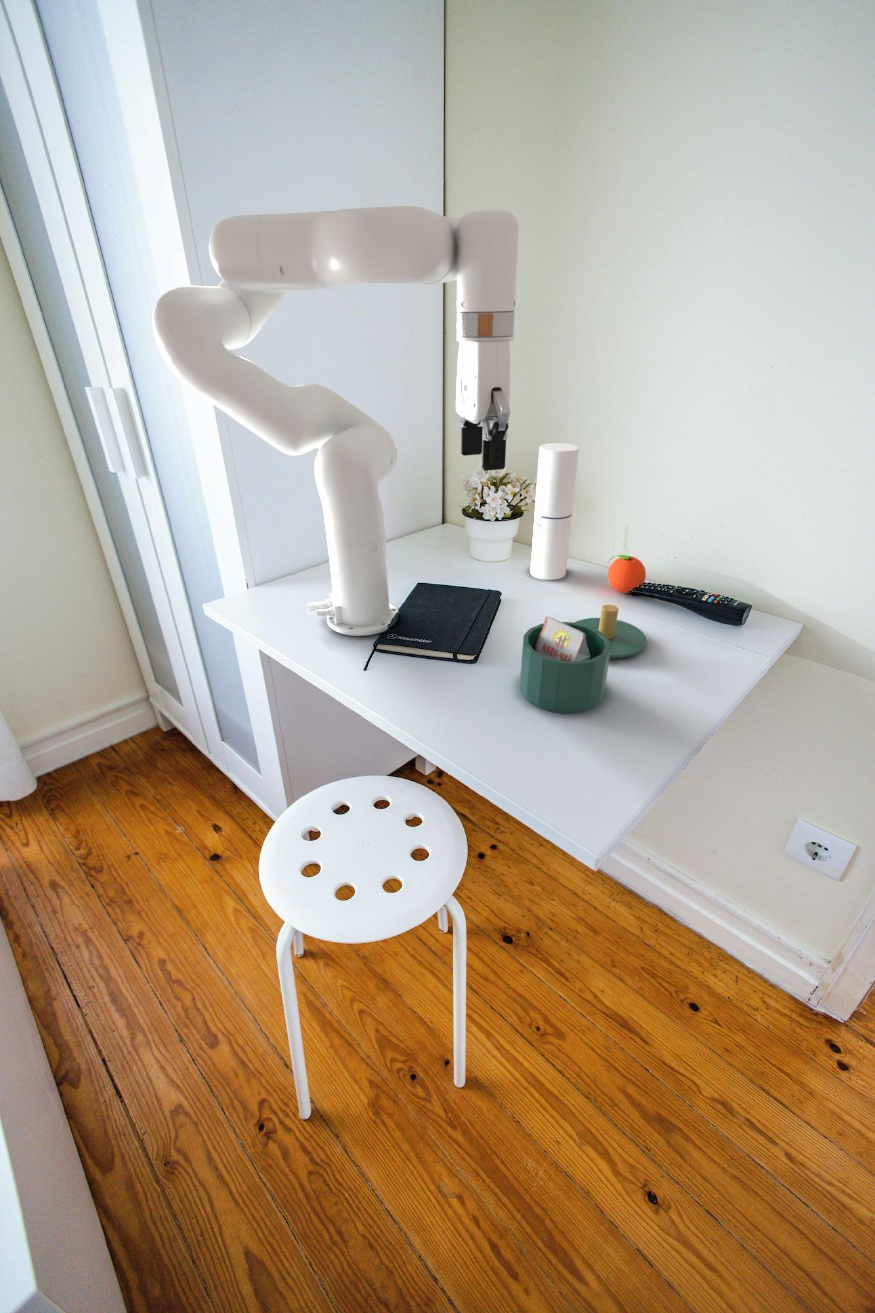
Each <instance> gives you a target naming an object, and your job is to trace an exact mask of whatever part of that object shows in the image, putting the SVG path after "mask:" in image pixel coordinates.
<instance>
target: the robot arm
mask: <svg viewBox="0 0 875 1313" xmlns="http://www.w3.org/2000/svg"><path fill="white" fill-rule="evenodd" d="M519 231H520V228H519V221H518V218H517V216H516V215H515V214H514V213H512V212H510V211H507V210H497V209H488V210H487V209H485V210H484V209H483V210H474V211H470V212H467V213H465V214H463V215H462V216H461V217H450V216H444V215H441V214H440V213H439V214H438V213H436V212H435V211H432V210H430V209H428V208H424V207H420V206H416V205H395V206H394V205H393V206H374V207H357V208H356V207H355V208H345V209H337V210H323V211H322V210H321V211H308V212H307V211H306V212H290V213H289V212H287V213H266V214H264V213H263V214H242V215H241V214H240V215H234V216H230V217H227V218H223V219H222V220H221V221H219V222H218V223H217V224H216V225H215V226H214V227H213V229H212V231H211V233H210V236H209V239H208V253H209V258H210V261H211V263H212V264H211V265H212V266H213V268H214V270H215V271H216V273H217V275H219V276H220V278H221V279H222V280H221V281H220V283H219V284H218V285H217V286H210V285H209V286H206V285H187V286H179V287H175V288H173V289H171V290H168V291H167V292H165V293H164V294H162V295H161V296H160V297H159V299H158V300H157V301H156V302H155V305H154V308H153V311H152V327H153V334H154V338H155V341H156V345H157V347H158V351H160V355H161V356H162V358H163V360H164V361H165V363H166V364H167V366H168V368H169V369H170V370H171V372H172V373H173V374H174V375H175V376H176V378H178V379H179V381H180V382H182V384H184V385H185V386H186V387H187V388H188V389H190V390H191V391H192V392H193V393H195V394H196V395H197V396H199V397H201V398H202V399H204V400H205V401H207V402H208V403H210V404H211V405H213V406H215V407H216V408H218V409H219V410H221V411H223V412H224V413H225V414H227V415H228V416H230V417H231V418H232V419H233V420H235V421H236V422H237V423H238V424H240V425H241V426H243V427H245V428H246V429H247V430H249V431H251V432H252V433H253V434H254V435H256V436H258V437H259V438H261V439H262V440H264V442H266V443H267V444H269V445H270V446H272V447H273V448H275V449H276V450H278V451H280V453H283V454H285V455H287V456H301V455H305V454H306V453H309V452H311V451H313V450H315V449H318V451H317V453H316V455H315V459H314V466H313V474H314V480H315V484H316V488H317V492H318V495H319V498H320V502H321V506H322V511H323V518H324V524H325V526H324V527H325V532H326V533H325V535H326V542H327V550H328V558H329V566H330V567H329V568H330V578H331V586H332V593H330V594H329V595H330V598H327V599H325V601H320V602H318V601H316V602H315V601H314V602H308V603H306V604H307V612H308V615H313V614H315V615H316V619H322V618H326V623H327V625H328V627H329V628H330V629H331V630H333V631H334V632H337V633H339V634H341V635H346V636H352V637H365V636H371V635H372V636H373V635H377V634H380V633H384V632H386V631H388V630H389V629H388V626H387V625H388V624H390V622H391V620H392V618H394V616H395V614H396V613H397V612H398V613H399V610H398V608H397V607H396V606H395V605H394V604H392V603H390V593H389V592H390V591H389V576H388V559H387V543H386V529H385V516H384V511H383V505H382V501H381V498H380V493H379V484H380V483H381V482H382V481H383V480H384V479H386V478H387V477H388V476H389V475H390V474H391V472H393V470H394V469H395V467H396V464H397V459H398V449H397V444H396V442H395V440H394V438H393V436H392V435H391V434H390V432H389V431H388V430H387V429H386V428H385V427H384V426H382V424H380V423H379V422H378V421H377V420H375V419H373V418H372V417H371V416H369V414H367V413H365V412H364V411H363V410H361V409H359V408H358V407H356V406H355V405H354V404H352V403H351V402H349V401H348V400H346V399H345V398H344V397H342V396H341V395H339V394H338V393H336V392H335V391H333V390H331V389H330V388H329V387H327V386H326V387H325V386H323V385H320V384H317V383H303V384H299V385H294V386H292V385H288V384H286V383H284V382H283V381H280V380H279V379H277V378H276V377H274V376H272V375H270V373H268V372H266V371H265V370H264V369H262V368H261V367H260V366H259V365H257V364H256V363H254V362H252V361H251V360H249V359H247V358H244V357H242V356H240V355H238V354H236V353H235V352H232V351H231V350H237V349H240V348H243V347H245V346H246V345H248V344H249V343H250V342H251V341H253V340H254V339H255V338H256V336H257V335H258V333H259V332H260V331H261V330H262V328H263V327H264V325H266V323H267V321H268V320H269V319H270V317H271V316H272V315H273V313H274V312H275V310H276V309H278V306H279V305H280V304H281V302H282V301H283V299H284V298H285V297H286V295H287V294H288V292H289V291H326V290H327V291H328V290H335V289H337V288H338V287H341V286H345V285H358V284H422V285H423V284H424V285H440V284H445V283H450V282H456V341H457V342H459V345H458V347H459V348H458V353H457V354H458V355H457V367H456V386H455V387H456V388H455V412H456V414H457V415H458V416H459V417H461V419H460V424H461V425H460V426H461V427H460V429H461V430H460V431H461V432H460V453H461V455H462V456H464V457H465V456H477V455H481V454H482V455H481V468H482V470H483V471H486V472H487V471H499V470H504V469H505V468H506V455H507V452H506V451H507V440H508V429H509V428H510V427H509V420H510V415H511V408H510V399H511V351H510V342H513V341H515V340H514V338H515V336H514V335H515V317H516V316H515V315H516V312H515V311H516V299H517V298H516V297H517V296H516V295H517V275H518V254H519V235H520V234H519ZM481 423H482V425H481ZM491 425H492V426H491ZM483 436H484V439H483ZM387 629H388V630H387Z"/></svg>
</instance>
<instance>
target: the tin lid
mask: <svg viewBox="0 0 875 1313" xmlns="http://www.w3.org/2000/svg"><path fill="white" fill-rule="evenodd" d="M600 610H601V611H600V617H588V618H583V619H579V620H576V621H574V622H573V623H577V624H582V625H586V626H589V627H591V628H594V629H596V630H598V631H600V632H601V633H602V634H604V635H605V636H606V637H607V638H608V639H609V641H610V645H611V653H610V659H621V658H622V659H623V658H629V657H632V656H636V655H638V654H640V653H641V652H642V651H644V650H645V648H646V646H647V642H648V639H647V636H646V635H645V633H644V632H643V631H642V630H641V629H640V628H638V627H636V626H635V625H634V624H631V623H628V622H626V621H623V620H620V619H618V615H619V607H618V606H616V605H613V604H604V605H602V606H601V609H600Z"/></svg>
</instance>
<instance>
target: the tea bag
mask: <svg viewBox="0 0 875 1313" xmlns="http://www.w3.org/2000/svg"><path fill="white" fill-rule="evenodd" d="M562 622H563V621H560V620H558V619H556V618H553V617H552V616H549V615H547V616H545V618H544V622H543V623H544V625H543V628H542V631H541V633H540V636H539V638H538V641H537V643H536V647H535V651H536V652H538V653H540V654H542V655H543V656H545V657H548V658H552V659H556V660H560V661H575V662H578V661H584V660H590V653H589V650H588V646H587V643H586V636H585V633H583V632H581V631H579V630H577V629H575V628H573V627H570V626H568V625H566V624H564V623H562Z"/></svg>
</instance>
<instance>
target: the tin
mask: <svg viewBox="0 0 875 1313" xmlns="http://www.w3.org/2000/svg"><path fill="white" fill-rule="evenodd" d="M561 622H562V623H564V624H566V625H568V626H570V627H573V628H575V629H577V630H579V631H581V632H583V633H585V636H586V643H587V646H588V650H589V653H590V660H584V661H578V662H575V661H560V660H556V659H552V658H548V657H545V656H543V655H542V654H540V653H538V652H536V651H535V647H536V643H537V641H538V638H539V636H540V633H541V631H542V628H543V625H544V622H543V623H540V624H537V625H535V626H532V627H530V628H529V629H528V630H527V631H526V632H525V633H524V634H523V636H522V649H521V664H520V678H519V690H520V693H521V695H522V696H523V698H524V699H525V700H526V701H527V702H528V703H530V704H531V705H533V706H535V707H537V708H538V709H541V710H544V711H547V712H550V713H557V714H564V715H565V714H580V713H584V712H588V711H590V710H592V709H594V708H596V707H597V706H598V705H599V704H600V703H601V702H602V700H603V697H604V695H605V690H606V685H607V684H606V683H607V678H608V677H607V676H608V670H609V666H610V665H609V664H610V659H611V658H610V653H611V645H610V641H609V639H608V638H607V637H606V636H605V635H604V634H602V633H601V632H600V631H598V630H596V629H594V628H591V627H589V626H586V625H582V624H577V623H574V622H571V621H561Z"/></svg>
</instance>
